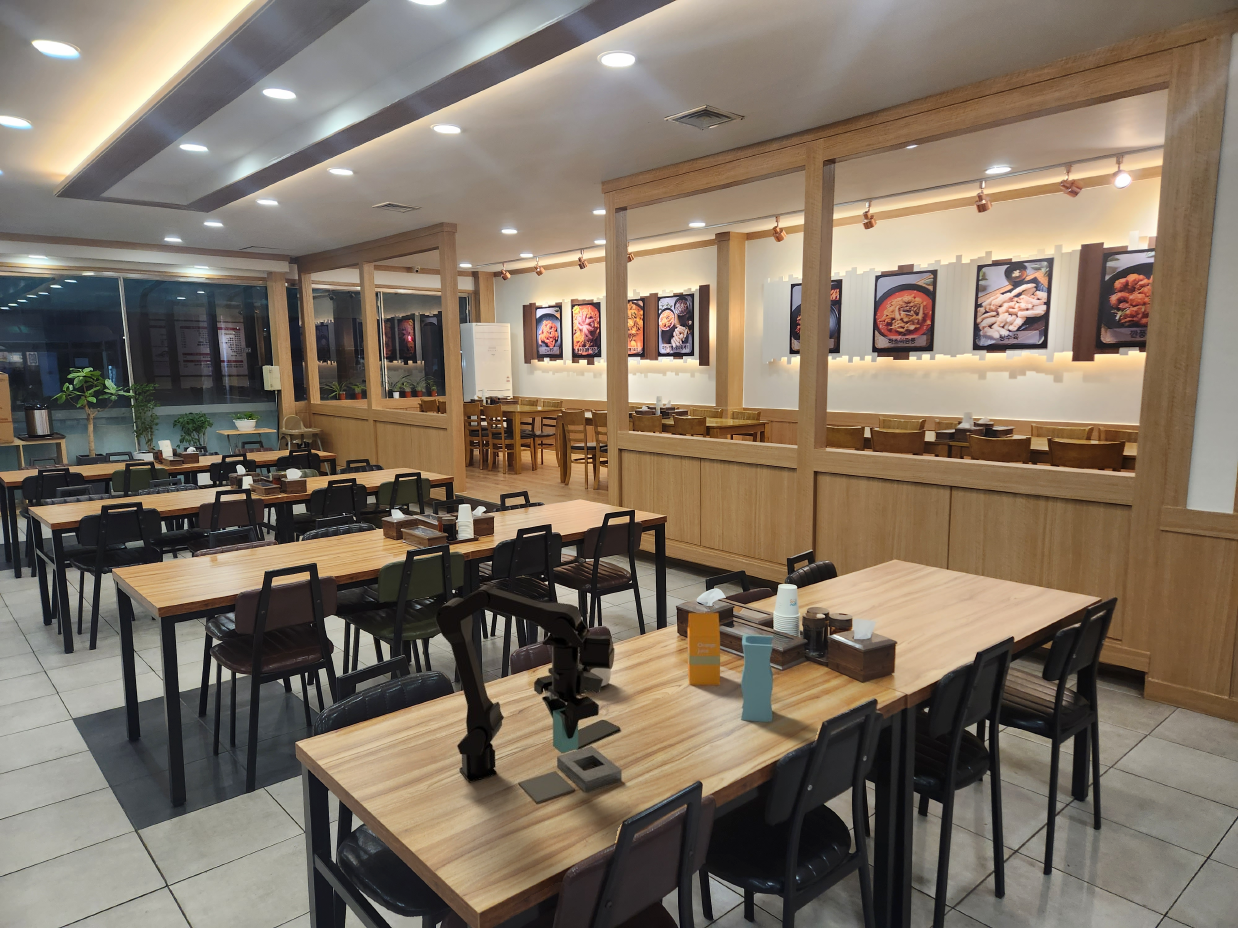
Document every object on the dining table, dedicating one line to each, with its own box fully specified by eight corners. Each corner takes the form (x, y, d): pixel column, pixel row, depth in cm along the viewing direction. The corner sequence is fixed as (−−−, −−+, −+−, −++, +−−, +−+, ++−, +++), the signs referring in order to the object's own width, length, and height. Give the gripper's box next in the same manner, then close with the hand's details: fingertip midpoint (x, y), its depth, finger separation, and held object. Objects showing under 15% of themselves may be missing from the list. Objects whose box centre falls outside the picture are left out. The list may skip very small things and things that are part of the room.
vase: (772, 722, 191) (773, 646, 189) (741, 719, 193) (741, 644, 191) (772, 709, 199) (773, 635, 197) (742, 706, 201) (742, 634, 198)
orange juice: (720, 684, 215) (720, 616, 213) (689, 684, 216) (689, 617, 214) (717, 674, 223) (717, 608, 221) (687, 674, 223) (687, 608, 221)
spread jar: (612, 681, 219) (611, 642, 218) (607, 697, 208) (607, 656, 207) (571, 680, 220) (570, 641, 219) (564, 695, 209) (563, 655, 208)
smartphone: (556, 738, 183) (602, 718, 193) (556, 742, 183) (602, 721, 193) (576, 748, 178) (622, 727, 188) (576, 752, 178) (622, 731, 188)
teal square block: (561, 753, 161) (561, 717, 160) (552, 745, 164) (552, 710, 163) (578, 748, 163) (578, 713, 162) (569, 741, 166) (569, 706, 166)
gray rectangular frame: (585, 792, 159) (585, 781, 159) (557, 766, 170) (557, 756, 170) (621, 780, 164) (621, 769, 164) (591, 755, 175) (591, 745, 175)
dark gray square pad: (536, 803, 155) (536, 801, 155) (518, 784, 163) (518, 782, 163) (574, 790, 160) (574, 788, 160) (555, 772, 168) (555, 770, 168)
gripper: (620, 671, 158) (620, 741, 160) (576, 644, 174) (576, 709, 175) (574, 682, 152) (574, 755, 154) (532, 653, 168) (533, 721, 169)
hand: (565, 733), depth 163 cm, fingers closed on teal square block, 4 cm apart
